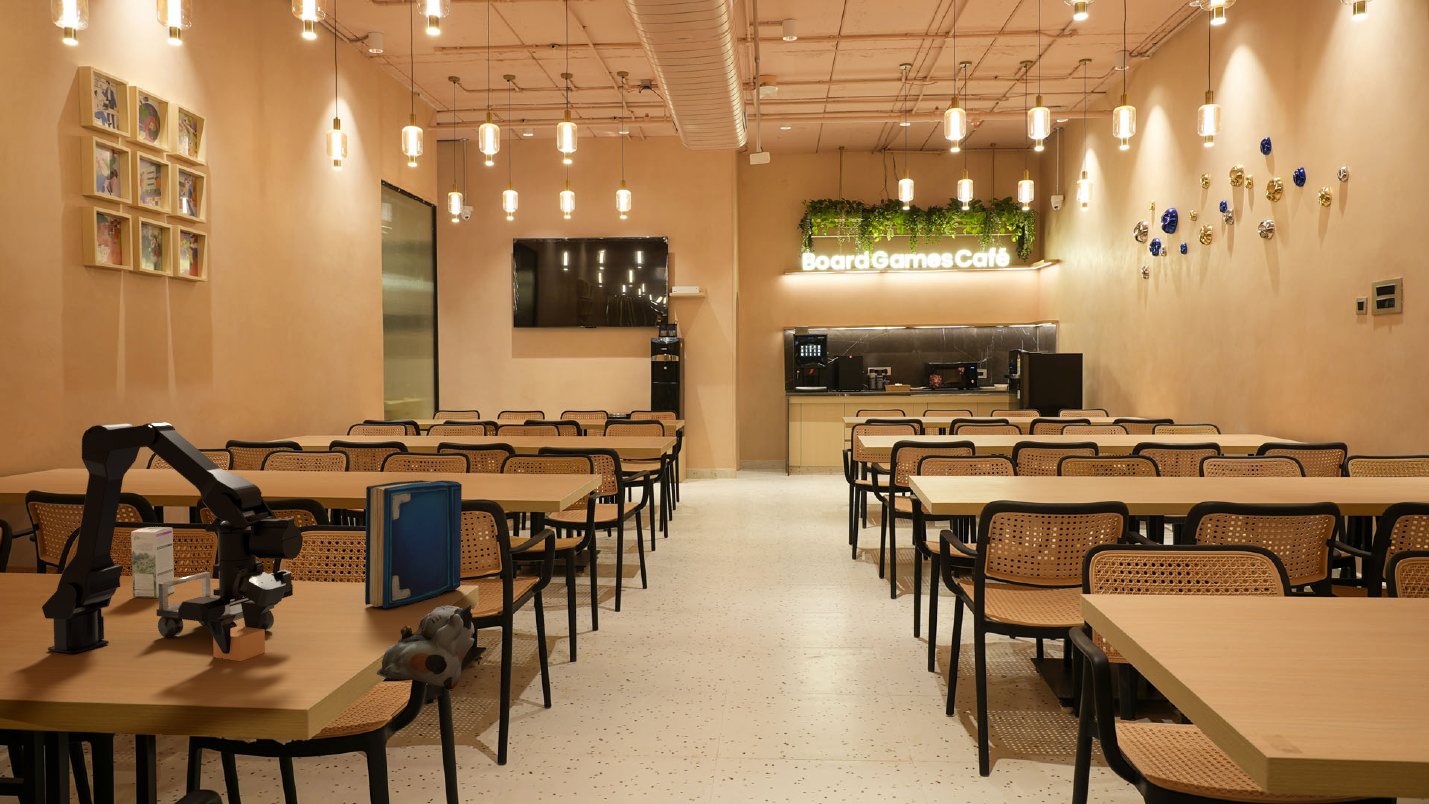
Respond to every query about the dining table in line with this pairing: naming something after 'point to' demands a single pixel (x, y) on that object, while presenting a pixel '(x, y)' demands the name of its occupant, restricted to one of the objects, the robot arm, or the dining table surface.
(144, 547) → the syrup box
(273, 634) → the dining table surface
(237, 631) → the orange rectangular carton
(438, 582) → the book
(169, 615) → the platform trolley
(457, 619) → the cat figurine
